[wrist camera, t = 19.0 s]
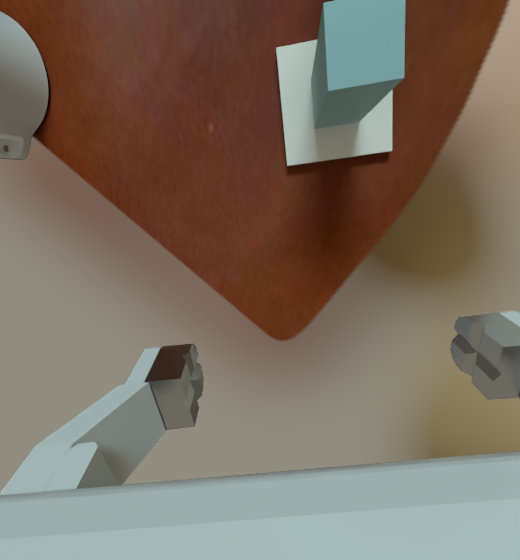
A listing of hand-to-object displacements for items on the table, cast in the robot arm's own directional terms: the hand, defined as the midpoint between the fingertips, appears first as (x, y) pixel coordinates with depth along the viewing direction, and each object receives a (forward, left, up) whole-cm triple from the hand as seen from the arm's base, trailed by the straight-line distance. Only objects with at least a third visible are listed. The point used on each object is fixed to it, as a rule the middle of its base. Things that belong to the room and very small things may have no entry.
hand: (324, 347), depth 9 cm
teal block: (+5, +13, -29) cm, 33 cm away
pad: (+5, +13, -30) cm, 33 cm away
